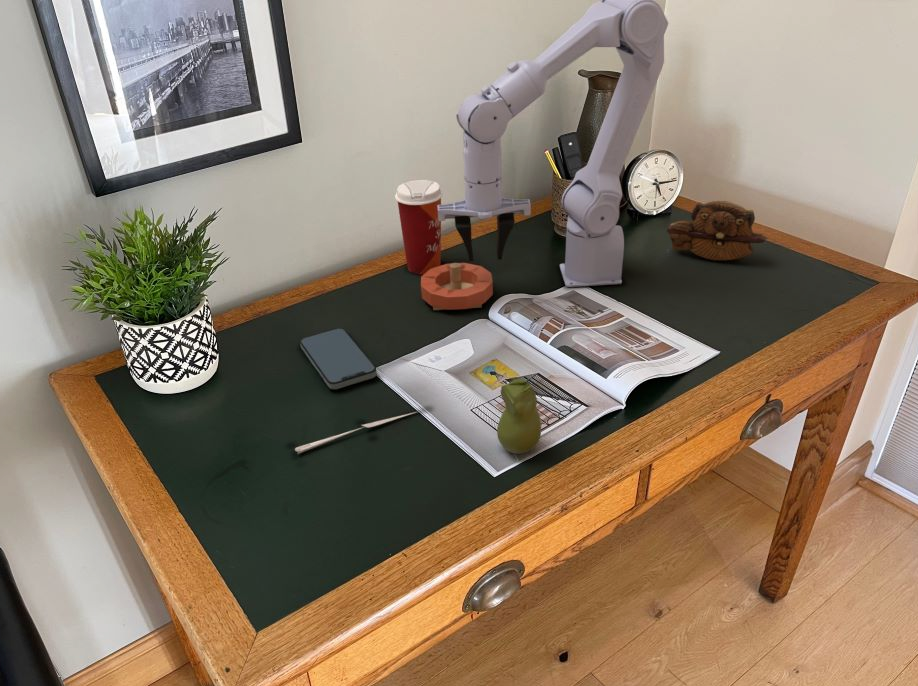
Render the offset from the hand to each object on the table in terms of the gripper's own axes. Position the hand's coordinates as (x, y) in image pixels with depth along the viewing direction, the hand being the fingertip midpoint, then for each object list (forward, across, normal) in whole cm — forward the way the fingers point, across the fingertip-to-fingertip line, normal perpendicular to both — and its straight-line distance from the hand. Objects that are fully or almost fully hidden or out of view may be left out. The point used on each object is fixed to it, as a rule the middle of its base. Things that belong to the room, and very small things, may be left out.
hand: (485, 257), depth 128 cm
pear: (+7, +1, -40) cm, 41 cm away
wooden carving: (+7, +40, +8) cm, 42 cm away
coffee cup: (+7, -10, +12) cm, 17 cm away
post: (+7, -5, 0) cm, 9 cm away
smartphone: (+7, -24, -18) cm, 31 cm away
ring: (+6, -5, 0) cm, 8 cm away
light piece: (+7, -19, -35) cm, 40 cm away
